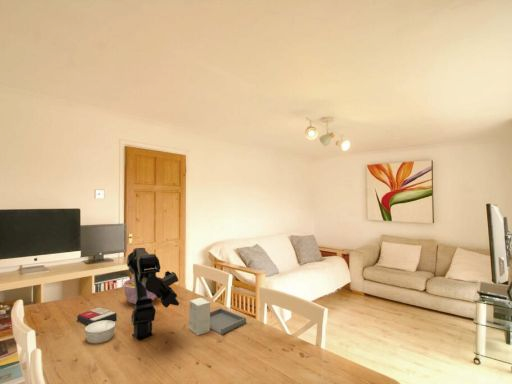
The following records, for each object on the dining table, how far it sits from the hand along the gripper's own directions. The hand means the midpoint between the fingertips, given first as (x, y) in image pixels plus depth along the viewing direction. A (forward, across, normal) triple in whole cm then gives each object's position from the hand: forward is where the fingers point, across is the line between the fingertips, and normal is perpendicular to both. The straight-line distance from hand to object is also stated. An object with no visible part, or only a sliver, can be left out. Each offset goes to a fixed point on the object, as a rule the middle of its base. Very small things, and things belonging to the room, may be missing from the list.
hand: (178, 304), depth 121 cm
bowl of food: (+4, +47, +15) cm, 49 cm away
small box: (+16, 0, +3) cm, 17 cm away
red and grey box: (-11, +33, +31) cm, 47 cm away
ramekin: (-11, +14, +30) cm, 35 cm away
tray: (+24, +2, -6) cm, 25 cm away
